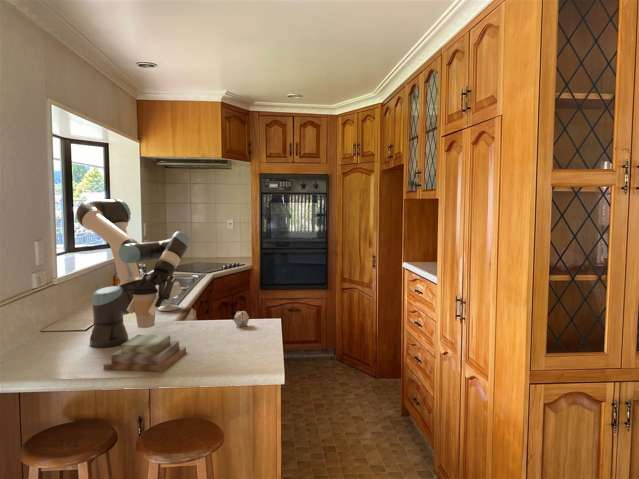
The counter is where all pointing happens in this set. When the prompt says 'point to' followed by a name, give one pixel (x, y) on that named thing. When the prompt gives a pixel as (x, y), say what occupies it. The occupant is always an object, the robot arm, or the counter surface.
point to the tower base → (146, 366)
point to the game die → (241, 318)
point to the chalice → (174, 292)
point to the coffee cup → (144, 304)
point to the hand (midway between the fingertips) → (139, 312)
